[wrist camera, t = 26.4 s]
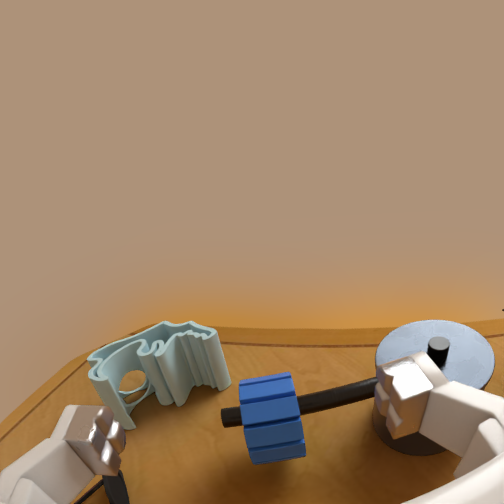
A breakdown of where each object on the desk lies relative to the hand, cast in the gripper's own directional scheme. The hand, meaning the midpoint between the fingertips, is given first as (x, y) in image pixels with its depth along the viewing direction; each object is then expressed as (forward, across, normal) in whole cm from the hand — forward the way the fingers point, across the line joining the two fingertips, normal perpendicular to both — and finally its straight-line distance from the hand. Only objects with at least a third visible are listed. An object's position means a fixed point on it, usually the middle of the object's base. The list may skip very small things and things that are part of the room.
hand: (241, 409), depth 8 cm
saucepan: (+15, -10, +25) cm, 31 cm away
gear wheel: (+15, 0, +23) cm, 27 cm away
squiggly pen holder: (+28, +15, +25) cm, 41 cm away
